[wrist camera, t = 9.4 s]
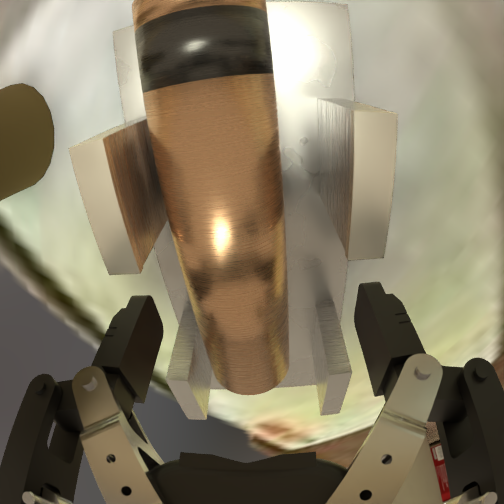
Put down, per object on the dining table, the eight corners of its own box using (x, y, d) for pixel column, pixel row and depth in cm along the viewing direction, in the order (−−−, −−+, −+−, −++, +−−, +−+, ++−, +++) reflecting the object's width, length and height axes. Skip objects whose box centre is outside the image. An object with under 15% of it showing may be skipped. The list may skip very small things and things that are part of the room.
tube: (134, 21, 8) (127, -15, 4) (242, 8, 8) (285, -25, 5) (205, 346, 16) (223, 404, 13) (272, 326, 17) (302, 378, 14)
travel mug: (384, 433, 29) (405, 560, 13) (434, 423, 29) (461, 535, 14) (362, 454, 33) (375, 561, 18) (408, 446, 33) (426, 544, 18)
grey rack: (340, 9, 8) (401, -33, 4) (327, 372, 20) (338, 442, 15) (122, 34, 9) (38, 19, 4) (205, 377, 21) (196, 447, 16)
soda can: (434, 439, 33) (449, 501, 23) (455, 436, 34) (470, 491, 24) (405, 456, 37) (417, 513, 26) (428, 453, 38) (440, 505, 28)
